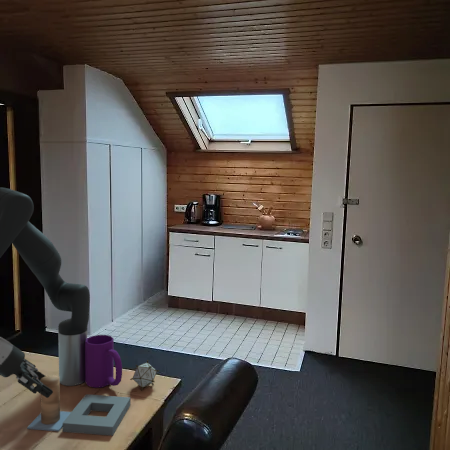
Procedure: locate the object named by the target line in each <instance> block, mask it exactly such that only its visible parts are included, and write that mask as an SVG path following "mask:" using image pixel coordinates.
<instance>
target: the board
mask: <svg viewBox="0 0 450 450" xmlns="http://www.w3.org/2000/svg"><path fill="white" fill-rule="evenodd" d="M131 403H132V402H131V397H130V396H129V397H128V396H115V395H104V394H103V395H101V394H99V395H98V394H85V395H84V396H83V397H82V399H81V400H79V402H78V403H77V404H76V406H75V407H74V408H73V410H72V411H70V412H71V413H70V414H69V416H68V417H67V418H66V419H65V421H64V422H63V427H62V432H63V433H73V434H74V433H77V434H85V435H86V434H87V435H100V436H110V435H111V436H114V435H115V433H116V432H117V429H118V427H119V426H120V424H121V422H122V421H123V420H124V417H125V416H126V414H127V412H128V410H129V409H130V407H131V405H132V404H131ZM94 411H96V412H106V413H107V412H108V413H107V415H106V416H101V415H100V416H98V415H90V413H91V412H94Z"/></svg>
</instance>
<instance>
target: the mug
mask: <svg viewBox="0 0 450 450" xmlns="http://www.w3.org/2000/svg"><path fill="white" fill-rule="evenodd" d="M114 342H115V341H114V337H112V336H111V335H109V334H96V335H92V336H90V337H87V339H86V341H85V380H86V381H85V384H86V385H87V386H88V387H91V388H95V389H97V388H98V389H101V388H104V387H107V386H109V385H110V386H114V387H115V386H118V385H119V384H120V383H121V382H122V378H123V363H122V358H121V356H120V354H119V352H118V351H117V350H116V349H114V345H115V344H114ZM114 365H115V366H114ZM114 367H115V377H114Z"/></svg>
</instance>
